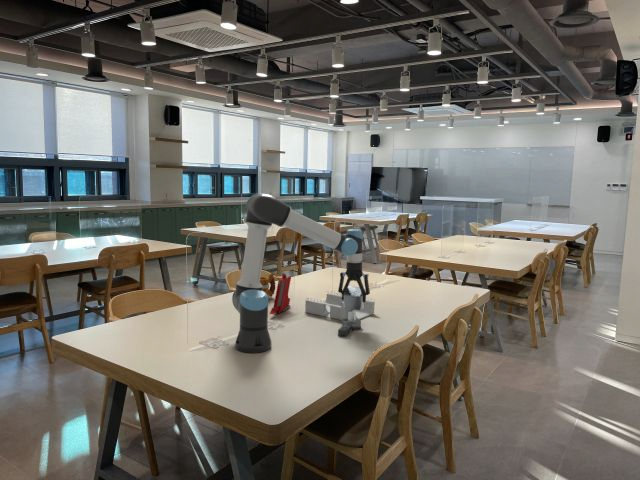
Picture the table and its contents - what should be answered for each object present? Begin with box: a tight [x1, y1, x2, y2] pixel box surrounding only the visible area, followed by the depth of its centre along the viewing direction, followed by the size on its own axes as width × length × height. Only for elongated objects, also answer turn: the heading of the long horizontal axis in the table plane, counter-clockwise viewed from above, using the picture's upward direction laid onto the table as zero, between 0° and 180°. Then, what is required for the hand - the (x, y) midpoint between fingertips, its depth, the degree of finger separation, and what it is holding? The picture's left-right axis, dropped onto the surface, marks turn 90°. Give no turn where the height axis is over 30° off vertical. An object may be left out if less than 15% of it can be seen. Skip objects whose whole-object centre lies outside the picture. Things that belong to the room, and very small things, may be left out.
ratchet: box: [337, 310, 362, 338], centre depth 226 cm, size 20×9×8 cm, turn 159°
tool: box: [269, 272, 292, 315], centre depth 258 cm, size 24×5×25 cm, turn 168°
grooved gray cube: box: [344, 285, 362, 310], centre depth 230 cm, size 8×8×8 cm
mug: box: [260, 272, 276, 301], centre depth 281 cm, size 11×16×15 cm, turn 132°
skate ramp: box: [304, 290, 376, 321], centre depth 253 cm, size 30×27×11 cm
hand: (353, 307), depth 230 cm, fingers closed on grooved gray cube, 8 cm apart
